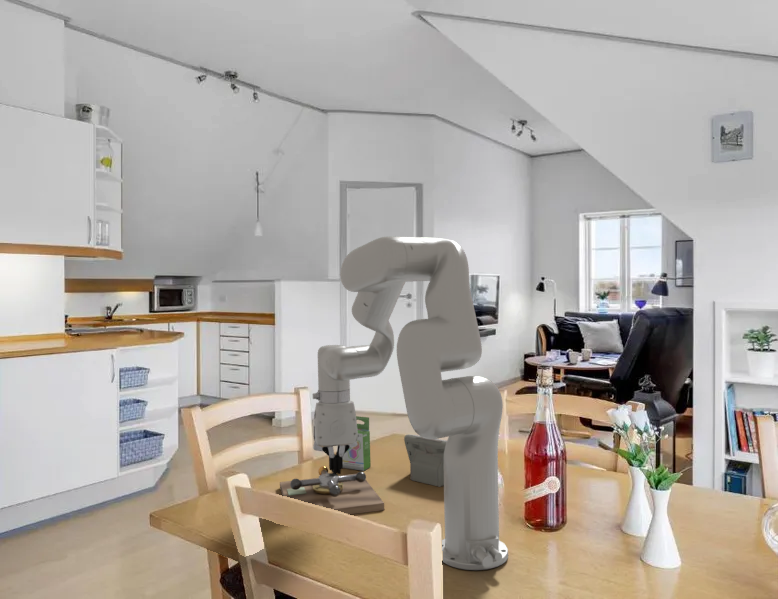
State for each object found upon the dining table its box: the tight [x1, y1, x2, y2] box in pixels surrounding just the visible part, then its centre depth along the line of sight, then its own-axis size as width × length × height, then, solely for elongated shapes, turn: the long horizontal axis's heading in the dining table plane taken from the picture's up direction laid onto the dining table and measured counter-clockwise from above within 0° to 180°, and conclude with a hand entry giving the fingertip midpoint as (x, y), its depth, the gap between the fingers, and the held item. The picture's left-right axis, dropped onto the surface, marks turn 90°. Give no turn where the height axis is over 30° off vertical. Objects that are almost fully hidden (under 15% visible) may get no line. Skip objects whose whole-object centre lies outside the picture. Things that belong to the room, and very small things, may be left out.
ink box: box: [343, 415, 372, 472], centre depth 161 cm, size 7×4×13 cm, turn 61°
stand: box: [279, 473, 385, 515], centre depth 137 cm, size 22×20×2 cm
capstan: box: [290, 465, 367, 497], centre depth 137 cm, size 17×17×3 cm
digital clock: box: [403, 434, 447, 488], centre depth 149 cm, size 16×9×11 cm, turn 38°
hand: (336, 472), depth 145 cm, fingers closed
